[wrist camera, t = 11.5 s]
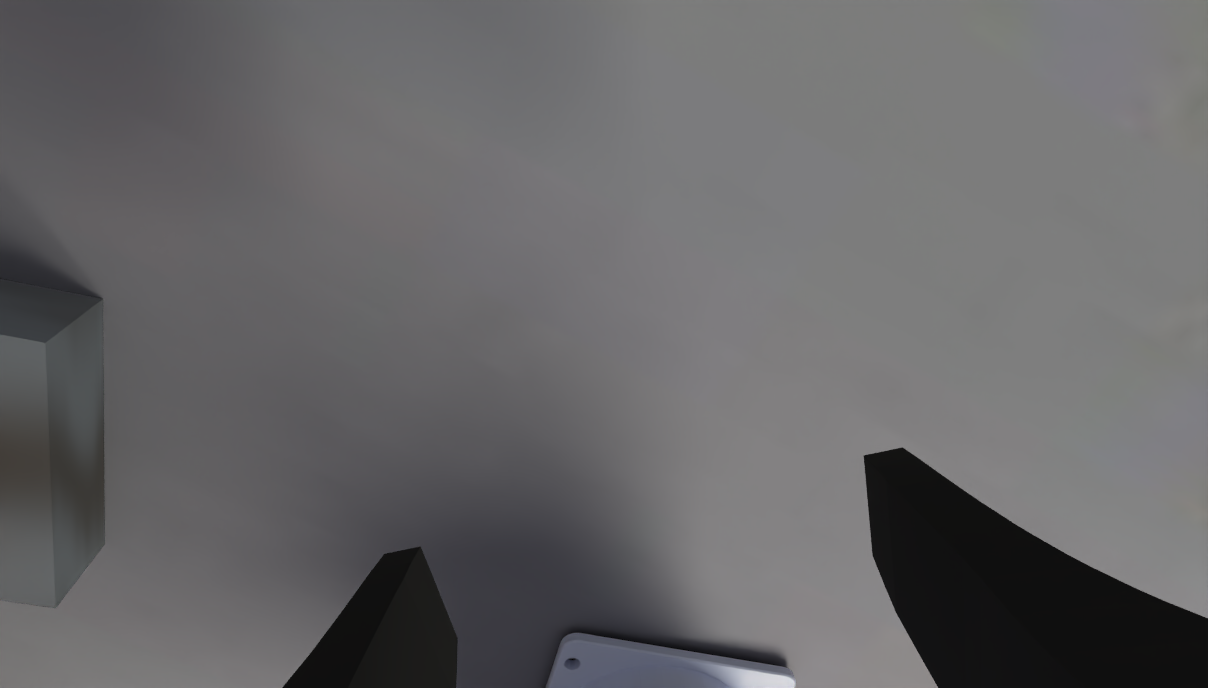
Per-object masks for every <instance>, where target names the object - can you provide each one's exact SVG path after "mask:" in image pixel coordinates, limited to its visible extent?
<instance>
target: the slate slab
mask: <svg viewBox="0 0 1208 688" xmlns="http://www.w3.org/2000/svg"><path fill="white" fill-rule="evenodd" d="M104 544H105V513H104V371H103V299H101V298H96V297H91V296H86V295H81V294H76V293H71V292H66V291H60V290H55V289H50V288H45V287H40V286H35V285H30V284H25V283H20V282H15V281H10V280H5V279H0V600H1V601H8V602H15V603H22V604H29V605H36V606H43V607H50V608H56V607H57V606H58V604H59V603H60V602H61V600H62V599H63V598H64V597H65V595H66V594H67V593H68V591H69V590H70V589H71V587H72V586H73V585H74V584H75V582H76V581H77V580H78V578H79V577H80V576H81V574H82V573H83V572H84V570H85V569H86V568H87V567H88V565H89V564H90V563H91V561H92V560H93V559H94V557H95V556H96V555H97V553H98V552H99V551H100V550H101V548H102V547H103V546H104Z"/></svg>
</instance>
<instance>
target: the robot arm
mask: <svg viewBox="0 0 1208 688" xmlns="http://www.w3.org/2000/svg"><path fill="white" fill-rule="evenodd" d="M864 463H865V474H866V486H867V497H868V508H869V519H870V530H871V542H872V553H873V557H874V560H875V562H876V565H877V567H878V570H879V572H880V575H881V577H882V580H883V582H884V585H885V587H886V590H887V592H888V594H889V597H890V599H891V601H892V604H893V606H894V608H895V611H896V613H897V615H898V617H899V619H900V620H901V622H902V624H903V626H904V628H905V629H906V631H907V633H908V635H909V637H910V638H911V640H912V642H913V644H914V646H915V647H916V649H917V651H918V653H919V654H920V656H921V658H922V660H923V662H924V663H925V665H926V667H927V669H928V670H929V672H930V674H931V676H932V677H933V679H934V681H935V683H936V684H937V686H938V688H1208V618H1205V617H1203V616H1200V615H1198V614H1195V613H1193V612H1190V611H1188V610H1185V609H1183V608H1180V607H1178V606H1175V605H1173V604H1170V603H1168V602H1165V601H1163V600H1161V599H1158V598H1156V597H1154V596H1152V595H1149V594H1147V593H1145V592H1142V591H1140V590H1138V589H1136V588H1134V587H1131V586H1129V585H1127V584H1125V583H1123V582H1121V581H1119V580H1117V579H1115V578H1113V577H1111V576H1109V575H1107V574H1105V573H1102V572H1100V571H1098V570H1096V569H1094V568H1092V567H1090V566H1088V565H1086V564H1084V563H1082V562H1080V561H1079V560H1077V559H1075V558H1073V557H1071V556H1069V555H1067V554H1065V553H1064V552H1062V551H1060V550H1058V549H1057V548H1055V547H1053V546H1051V545H1050V544H1048V543H1046V542H1044V541H1043V540H1041V539H1039V538H1037V537H1036V536H1034V535H1032V534H1030V533H1029V532H1027V531H1025V530H1024V529H1022V528H1020V527H1019V526H1017V525H1015V524H1014V523H1012V522H1011V521H1009V520H1008V519H1006V518H1005V517H1003V516H1002V515H1000V514H998V513H997V512H995V511H994V510H992V509H991V508H989V507H988V506H986V505H985V504H983V503H981V502H980V501H978V500H977V499H976V498H974V497H973V496H971V495H970V494H968V493H967V492H965V491H964V490H962V489H961V488H959V487H958V486H957V485H955V484H954V483H952V482H951V481H949V480H948V479H947V478H945V477H944V476H942V475H941V474H940V473H938V472H937V471H935V470H934V469H933V468H931V467H930V466H928V465H927V464H925V463H924V462H923V461H921V460H920V459H918V458H917V457H916V456H914V455H913V454H911V453H910V452H908V451H907V450H905V449H904V448H898V449H893V450H889V451H884V452H879V453H874V454H869V455H864ZM569 658H576V660H568V659H569ZM456 675H457V636H456V633H455V631H454V628H453V626H452V623H451V621H450V618H449V616H448V614H447V611H446V609H445V606H444V604H443V601H442V599H441V596H440V594H439V591H438V589H437V586H436V584H435V581H434V579H433V576H432V574H431V571H430V569H429V566H428V564H427V561H426V559H425V556H424V554H423V551H422V549H421V547H416V548H411V549H407V550H402V551H397V552H392V553H387V554H384V555H383V557H382V558H381V559H380V560H379V562H378V563H377V564H376V566H375V567H374V568H373V570H372V571H371V572H370V574H369V575H368V576H367V578H366V579H365V581H364V582H363V583H362V585H361V586H360V587H359V589H358V590H357V592H356V593H355V594H354V596H353V597H352V599H351V600H350V601H349V603H348V604H347V605H346V607H345V608H344V610H343V611H342V612H341V614H340V615H339V616H338V618H337V619H336V620H335V622H334V623H333V624H332V626H331V627H330V628H329V630H328V631H327V632H326V634H325V635H324V636H323V638H322V639H321V640H320V642H319V643H318V644H317V646H316V647H315V648H314V650H313V651H312V652H311V653H310V655H309V656H308V657H307V658H306V660H305V661H304V662H303V663H302V664H301V666H300V667H299V668H298V669H297V671H296V672H295V673H294V674H293V675H292V677H291V678H290V679H289V680H288V682H287V683H286V684H285V685H284V686H283V688H456ZM795 686H796V681H795V678H794V675H793V672H792V671H791V670H790V669H789V668H786V667H782V666H776V665H770V664H764V663H758V662H752V661H746V660H740V659H733V658H727V657H721V656H715V655H709V654H703V653H697V652H691V651H685V650H679V649H673V648H667V647H661V646H655V645H649V644H643V643H637V642H631V641H625V640H619V639H613V638H607V637H601V636H595V635H589V634H583V633H572V634H568V635H567V636H565V637H564V638H563V639H562V641H561V643H560V646H559V649H558V652H557V655H556V658H555V661H554V664H553V667H552V670H551V673H550V676H549V679H548V682H547V685H546V688H795Z"/></svg>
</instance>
